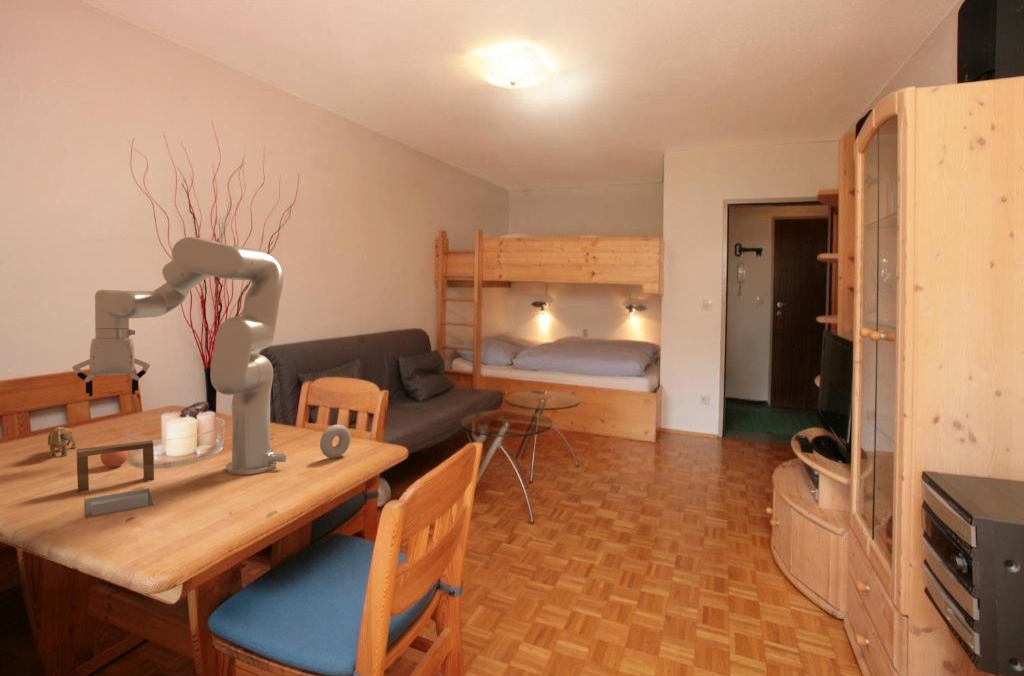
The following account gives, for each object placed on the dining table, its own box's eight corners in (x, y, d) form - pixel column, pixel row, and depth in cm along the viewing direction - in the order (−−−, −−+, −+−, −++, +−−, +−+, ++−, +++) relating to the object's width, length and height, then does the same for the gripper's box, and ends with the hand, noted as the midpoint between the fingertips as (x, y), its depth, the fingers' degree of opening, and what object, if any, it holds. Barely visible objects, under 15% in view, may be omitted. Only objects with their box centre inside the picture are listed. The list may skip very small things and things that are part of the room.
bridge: (78, 488, 127) (76, 449, 127) (152, 476, 137) (152, 440, 136) (78, 492, 125) (76, 452, 124) (154, 479, 134) (153, 442, 134)
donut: (324, 462, 152) (324, 428, 151) (317, 460, 154) (317, 427, 153) (352, 454, 160) (353, 422, 159) (345, 452, 162) (345, 420, 161)
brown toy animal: (71, 459, 148) (70, 427, 148) (46, 462, 145) (45, 430, 145) (77, 445, 161) (76, 416, 160) (54, 448, 158) (53, 418, 157)
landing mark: (85, 499, 121) (85, 498, 121) (149, 489, 129) (149, 488, 128) (85, 517, 112) (85, 517, 112) (153, 505, 119) (153, 504, 119)
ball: (133, 462, 147) (132, 441, 146) (120, 469, 141) (119, 448, 140) (109, 463, 146) (108, 441, 145) (95, 470, 140) (95, 448, 140)
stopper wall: (91, 513, 114) (91, 502, 114) (147, 503, 120) (147, 492, 120) (91, 516, 112) (91, 505, 112) (148, 506, 119) (148, 495, 118)
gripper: (149, 333, 155) (149, 390, 157) (73, 332, 145) (73, 394, 147) (150, 335, 150) (150, 394, 151) (71, 335, 139) (71, 399, 141)
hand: (112, 394), depth 149 cm, fingers open, 9 cm apart
